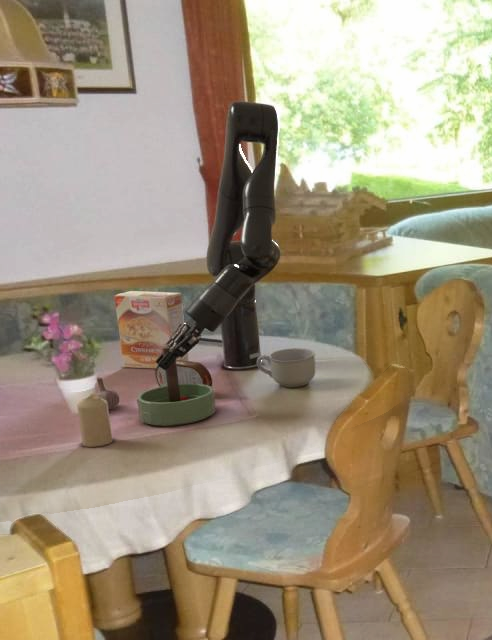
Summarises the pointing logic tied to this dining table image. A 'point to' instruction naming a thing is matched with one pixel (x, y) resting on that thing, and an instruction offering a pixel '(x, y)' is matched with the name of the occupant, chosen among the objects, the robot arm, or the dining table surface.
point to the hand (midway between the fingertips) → (160, 366)
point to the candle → (94, 421)
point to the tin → (186, 374)
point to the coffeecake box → (147, 325)
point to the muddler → (172, 379)
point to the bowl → (176, 405)
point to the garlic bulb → (107, 394)
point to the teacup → (290, 366)
